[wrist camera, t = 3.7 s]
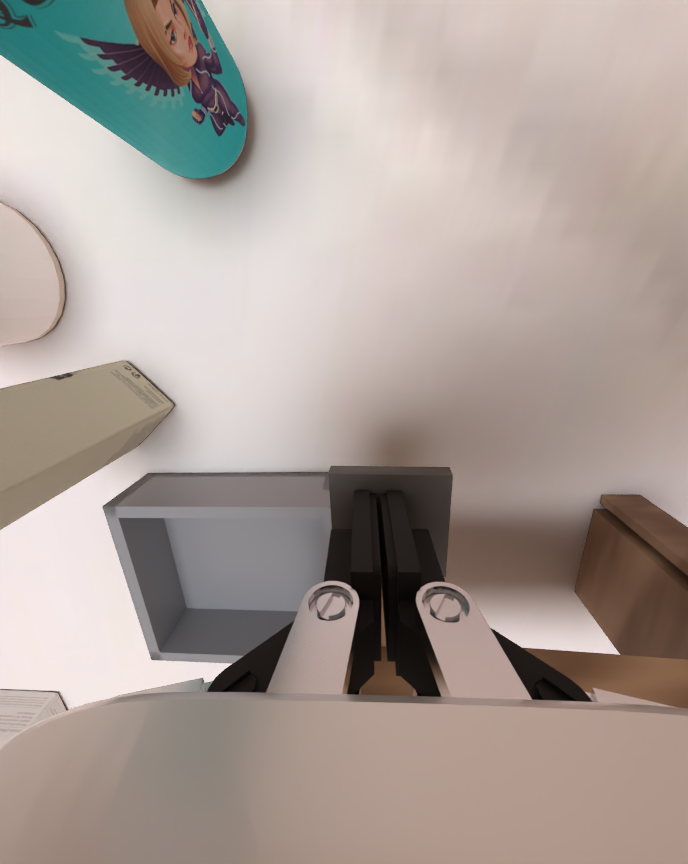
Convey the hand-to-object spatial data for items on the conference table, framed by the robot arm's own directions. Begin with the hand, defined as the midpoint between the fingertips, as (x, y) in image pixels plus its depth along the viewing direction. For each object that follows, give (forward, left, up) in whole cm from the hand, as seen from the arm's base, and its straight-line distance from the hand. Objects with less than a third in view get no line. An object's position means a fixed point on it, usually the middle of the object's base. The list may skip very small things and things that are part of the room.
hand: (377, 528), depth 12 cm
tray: (+10, +10, -11) cm, 18 cm away
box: (+17, -2, -12) cm, 20 cm away
